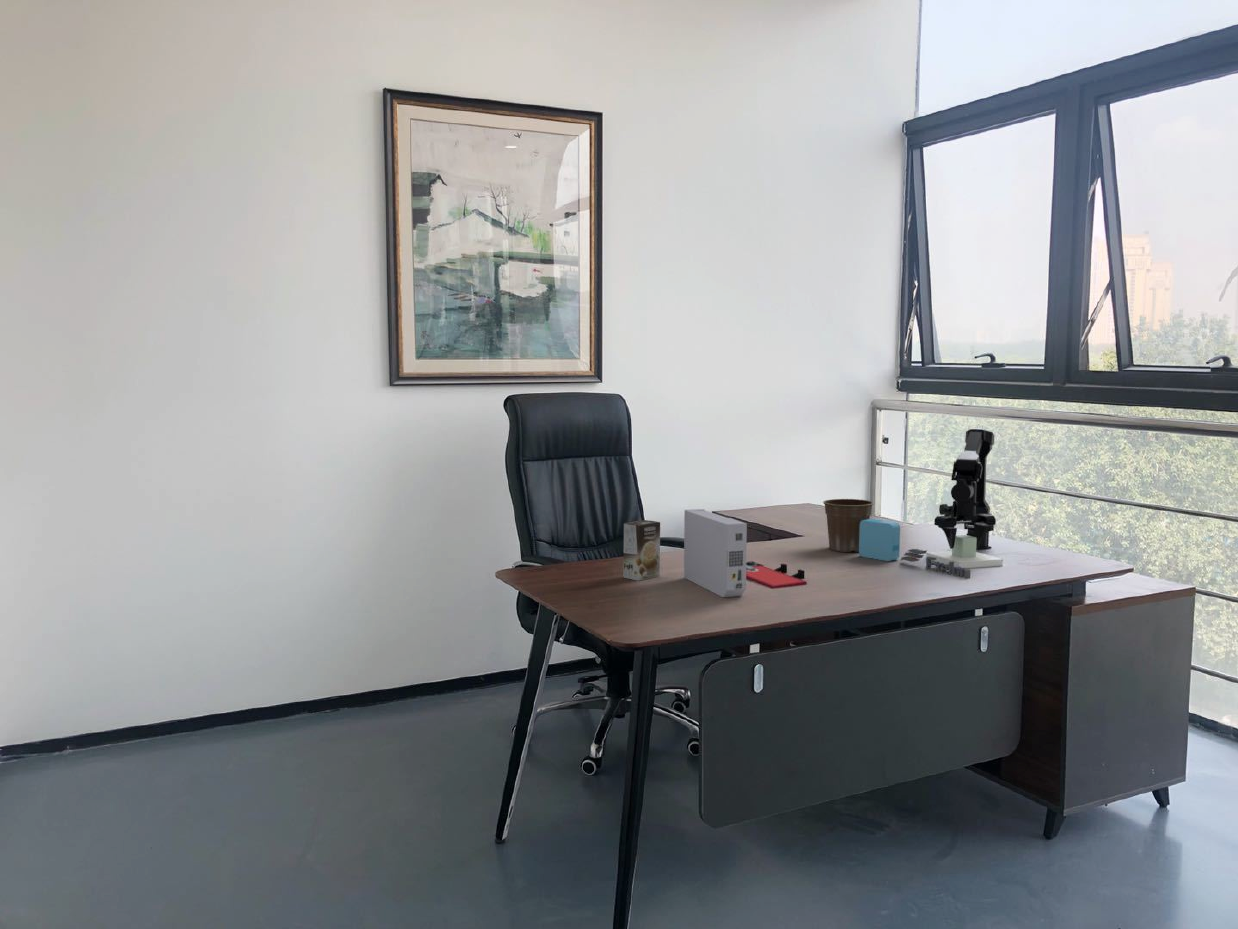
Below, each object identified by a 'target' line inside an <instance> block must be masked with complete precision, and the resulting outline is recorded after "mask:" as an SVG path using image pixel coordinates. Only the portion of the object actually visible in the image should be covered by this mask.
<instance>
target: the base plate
mask: <svg viewBox="0 0 1238 929" xmlns="http://www.w3.org/2000/svg"><path fill="white" fill-rule="evenodd" d="M925 554H926V555H925V558H926V557H929V556H931V557H935V558H937V560H931V562H940V563H944V564H949V562H951V561H954V567H958V566H959V567H961V568H968V569H974V568H986V567H987V568H988V567H989V568H990V567H1000V566H1001V567H1003V564H1004V561H1003V560H1004V559H1003V558H1000V557H996V556H993V555H990V554H987V553H986V554H985V553H982V552H980V551H979V552H978V551H976V557H966V558H961V557H958V556H955V555H952V550H944V551H943V550H942V551H941V550H940V551H927V552H926V553H925Z"/></svg>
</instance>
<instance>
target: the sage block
mask: <svg viewBox="0 0 1238 929" xmlns="http://www.w3.org/2000/svg"><path fill="white" fill-rule="evenodd" d="M976 542H977V538H976V537H972V536H968V535H966V534H964V535H963V534H962V535H960V534H959V535H956V538H955V544H954V548H953V549H951V551H952V555H955V556H958V557H961V558H966V557H976V552H977V549H976Z"/></svg>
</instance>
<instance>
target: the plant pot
mask: <svg viewBox="0 0 1238 929" xmlns="http://www.w3.org/2000/svg"><path fill="white" fill-rule="evenodd" d="M822 503H823V504H824V511H825V512H824V513H825V516H826V524H827V526H826V527H827V536H828V548H829V550H831V551H835V552H839V553H851V552H855V553H859V534H860V522H861V521H863V520H867V519H871V518H870V517H871V515H872V508H873V505H874V501H871V500H869V499H868V500H867V499H858V498H857V499H855V498H834V499H833V498H832V499H826V500H823V502H822Z"/></svg>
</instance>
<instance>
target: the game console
mask: <svg viewBox="0 0 1238 929" xmlns="http://www.w3.org/2000/svg"><path fill="white" fill-rule="evenodd" d="M683 519H684V520H683V521H684V522H683V524H684V529H683V530H684V531H683V532H684V534H683V536H684V537H683V538H684V542H683V543H684V546H683V578H684V579H686V580H688V581H689V582H692V583H694V584H695V585H698V586H700V587H702V588H703V589H706V590H707V591H709V592H712V593H713V594H715V595H718V596H720V597H721V598H732V597H742V596H743V595H744V593H745V591H746V589H747V579H746V562H747V542H748V541H747V530H748V526H747V525H748V523H746V522H743V521H740V520H737V519H735V518H732V517H726V516H723V515H720V514H717V513H713V512H710V511H707V510H706V509H703V508H702V509H701V508H696V509H684V518H683Z"/></svg>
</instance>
